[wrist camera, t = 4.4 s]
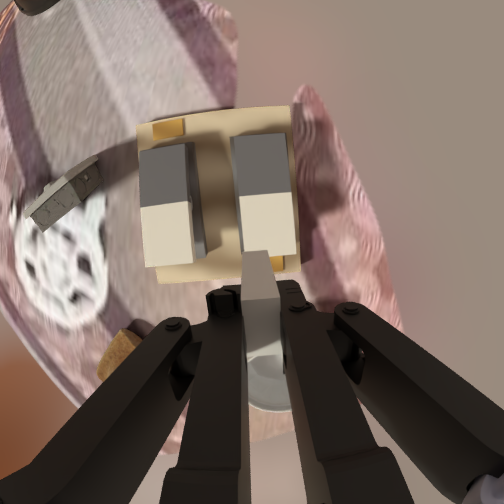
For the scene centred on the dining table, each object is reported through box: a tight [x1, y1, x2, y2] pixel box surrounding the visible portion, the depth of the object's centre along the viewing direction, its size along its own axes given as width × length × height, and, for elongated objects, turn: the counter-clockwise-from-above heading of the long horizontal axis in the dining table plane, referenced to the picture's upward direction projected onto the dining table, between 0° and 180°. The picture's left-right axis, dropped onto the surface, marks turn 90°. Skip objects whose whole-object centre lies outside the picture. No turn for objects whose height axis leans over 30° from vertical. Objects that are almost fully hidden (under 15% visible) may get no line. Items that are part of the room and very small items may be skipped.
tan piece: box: [97, 328, 143, 382], centre depth 33 cm, size 15×12×15 cm
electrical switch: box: [23, 155, 103, 232], centre depth 27 cm, size 9×5×9 cm, turn 115°
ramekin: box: [247, 351, 292, 412], centre depth 37 cm, size 13×13×7 cm
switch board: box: [136, 106, 301, 284], centre depth 31 cm, size 20×18×4 cm
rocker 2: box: [234, 133, 296, 257], centre depth 27 cm, size 12×5×2 cm, turn 5°
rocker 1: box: [139, 144, 196, 267], centre depth 27 cm, size 12×5×2 cm, turn 5°
